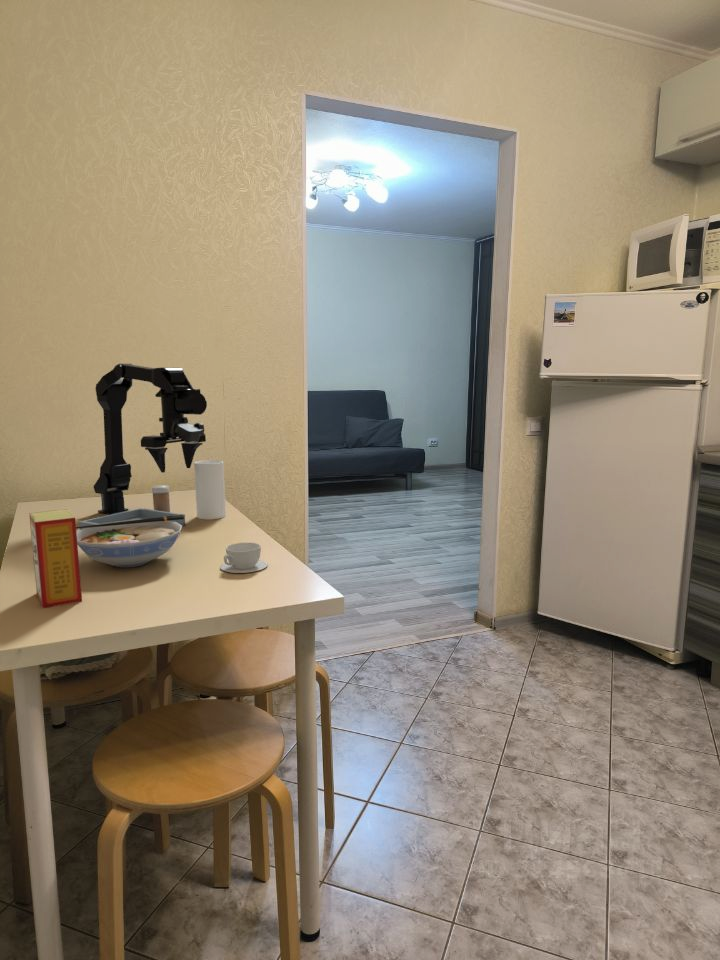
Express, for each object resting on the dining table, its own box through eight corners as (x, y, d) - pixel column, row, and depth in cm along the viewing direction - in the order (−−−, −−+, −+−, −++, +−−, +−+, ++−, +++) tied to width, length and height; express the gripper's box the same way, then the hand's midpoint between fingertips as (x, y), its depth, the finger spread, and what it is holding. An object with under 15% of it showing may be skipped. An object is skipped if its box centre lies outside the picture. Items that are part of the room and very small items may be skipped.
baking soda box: (36, 593, 125) (29, 511, 122) (73, 587, 128) (66, 507, 126) (43, 608, 117) (34, 520, 114) (82, 601, 120) (75, 515, 118)
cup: (229, 513, 195) (227, 460, 192) (220, 519, 187) (218, 463, 184) (202, 513, 196) (199, 460, 193) (192, 519, 188) (189, 463, 185)
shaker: (150, 515, 193) (148, 487, 191) (163, 512, 197) (161, 484, 195) (161, 517, 190) (159, 488, 189) (174, 514, 194) (172, 486, 193)
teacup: (247, 558, 147) (246, 538, 146) (277, 567, 141) (276, 545, 140) (210, 569, 140) (209, 547, 139) (240, 578, 133) (239, 555, 133)
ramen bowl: (67, 585, 129) (63, 545, 128) (70, 556, 150) (67, 521, 149) (196, 570, 139) (194, 532, 137) (182, 544, 159) (180, 511, 158)
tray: (79, 532, 173) (79, 521, 172) (141, 518, 189) (140, 508, 189) (125, 541, 163) (124, 529, 163) (185, 525, 180) (184, 514, 180)
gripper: (166, 416, 167) (170, 477, 170) (218, 412, 183) (221, 467, 185) (137, 415, 173) (141, 474, 176) (190, 411, 189) (193, 465, 191)
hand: (176, 470), depth 182 cm, fingers open, 9 cm apart
